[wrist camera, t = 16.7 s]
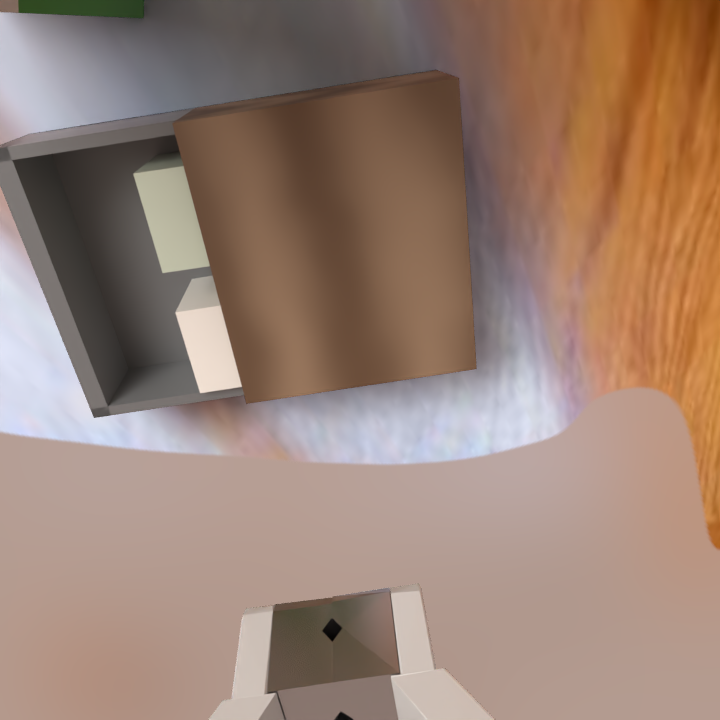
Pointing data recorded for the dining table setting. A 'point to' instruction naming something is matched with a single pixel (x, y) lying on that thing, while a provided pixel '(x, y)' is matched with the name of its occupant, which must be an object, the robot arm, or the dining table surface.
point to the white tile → (207, 337)
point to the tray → (104, 260)
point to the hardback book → (77, 7)
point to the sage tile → (171, 213)
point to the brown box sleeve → (336, 232)
